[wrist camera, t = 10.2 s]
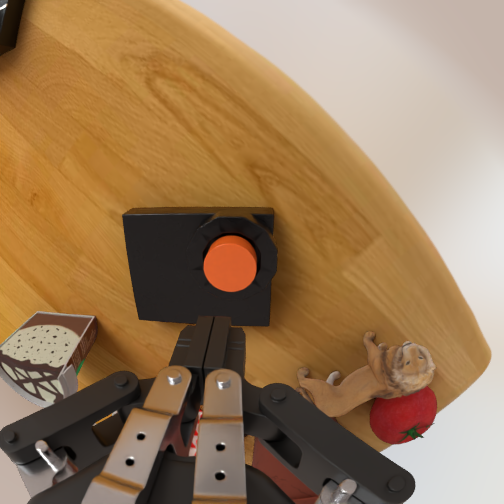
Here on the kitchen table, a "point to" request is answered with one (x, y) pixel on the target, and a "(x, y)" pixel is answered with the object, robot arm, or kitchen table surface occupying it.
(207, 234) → the black button box
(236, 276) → the button
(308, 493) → the potted plant
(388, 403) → the tomato
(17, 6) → the dial panel
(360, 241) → the kitchen table surface
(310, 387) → the lion figurine
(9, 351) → the food container
